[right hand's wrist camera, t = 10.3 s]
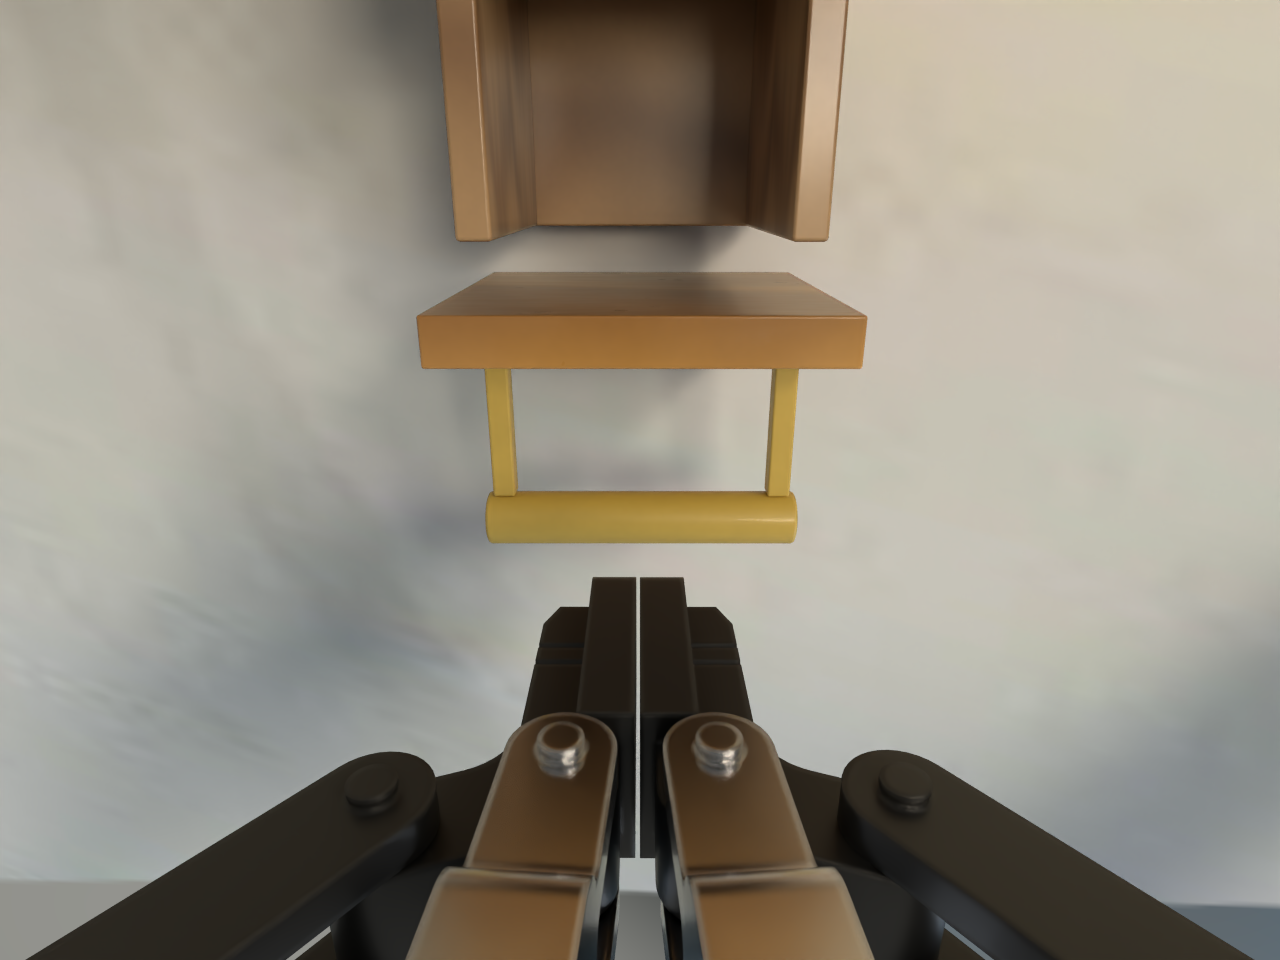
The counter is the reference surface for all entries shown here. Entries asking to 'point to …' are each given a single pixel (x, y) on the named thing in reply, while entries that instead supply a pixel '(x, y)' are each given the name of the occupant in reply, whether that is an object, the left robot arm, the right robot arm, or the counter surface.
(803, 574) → the counter surface
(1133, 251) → the counter surface
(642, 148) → the drawer
